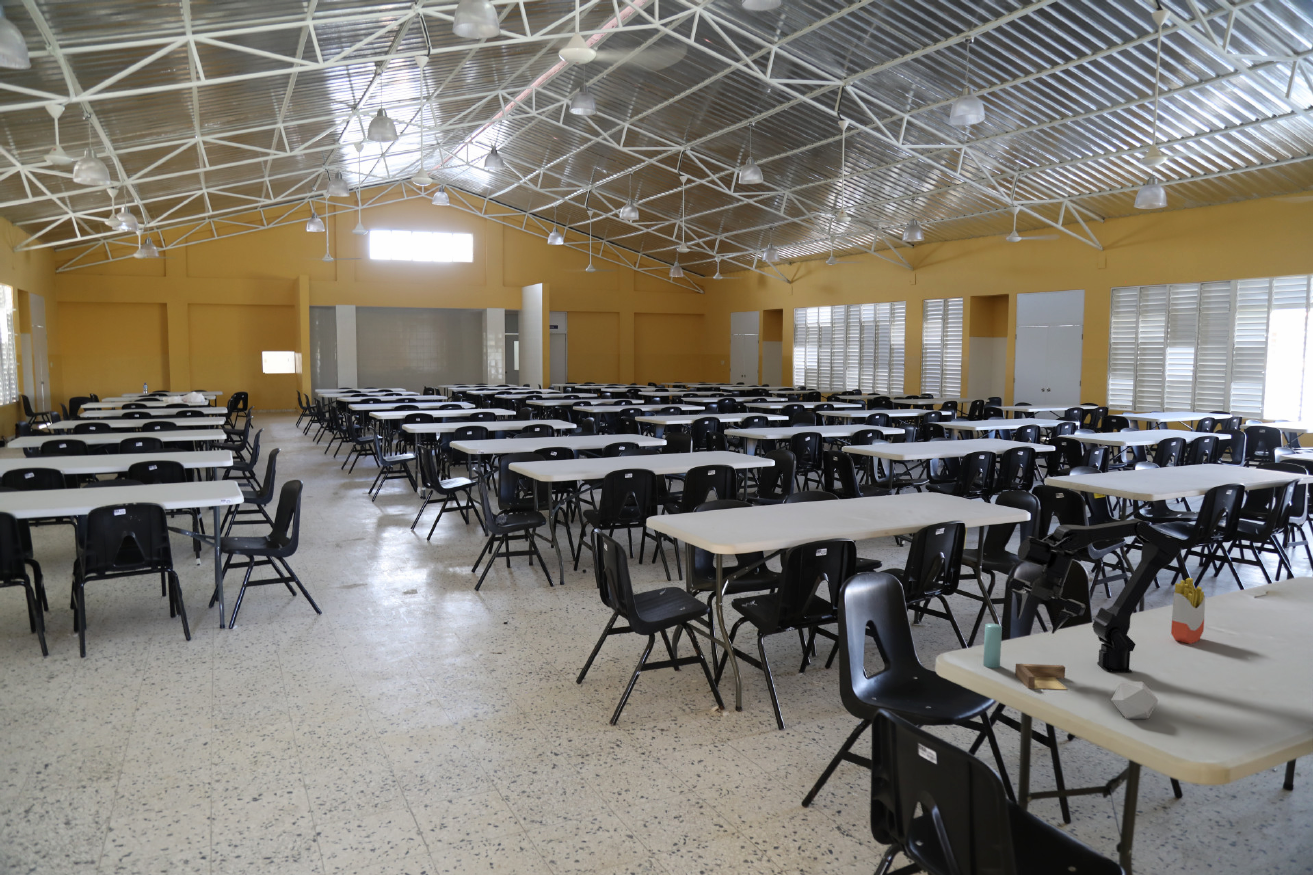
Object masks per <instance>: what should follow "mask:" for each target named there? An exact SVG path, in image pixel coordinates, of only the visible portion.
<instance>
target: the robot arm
mask: <svg viewBox="0 0 1313 875" xmlns="http://www.w3.org/2000/svg"><path fill="white" fill-rule="evenodd" d="M1130 537H1135V538H1137V540H1139V541H1140V542H1141V543H1142V544H1143V546H1142V548H1141V555H1140V556H1141V557H1140V562H1139V563H1138V565H1137V566H1136V568H1135V570H1134V571H1133V573H1132V574H1131V576H1130V577H1129V579H1128V581H1127V582H1126V584H1124V587H1123V588H1122V590H1121V592H1120V593H1119V594H1118V596H1117V598H1116V599H1115V601H1114V603H1113V604H1112V605H1111V606H1110V607H1108V608H1105V607H1100V608H1099V609H1098V612H1097V614H1096V615H1095V616H1094V617H1093V618H1092V620H1093V623H1092V629H1093V632H1094V634H1095V635H1096V636H1097V638H1098V640H1099V642H1101V644H1100V645H1101V646H1100V649H1099V650H1098V661H1097V665H1098V666H1100V667H1101V668H1102V669H1103V670H1105V671H1106V672H1109V673H1133V670H1132V669H1131V668H1130V664H1131V663H1130V661H1131V652H1134V650H1135V646H1136V643H1135V641H1133V640H1132V638H1130V636H1128V633H1129V630H1130V629H1131V617H1132V614H1133V613H1134V612H1135V610H1136V608H1137V607H1138V605H1139V604H1140V601H1142V599H1143V597H1144V595H1145V594H1146V592H1147V591H1148V590H1149V588H1150V586H1151V585H1152V583H1153V581H1154V579H1155V578H1156V576H1157V575H1158V574H1159V571H1161V570H1162V569H1164V568H1166V567H1167V566H1168V565H1171V564H1172V563H1173V562H1174V560H1175V559H1176V558H1177V557H1178V556H1179V555H1180V552H1181V550H1182V548H1181V545H1180V542H1179V541H1178V540H1177V539H1176V538H1174V537H1171V536H1168V535H1165V534H1163V533H1162V532H1161V531H1159V530H1157V529H1156V528H1154V527H1153V526H1151V524H1149V523H1147V522H1146V521H1144V520H1141V519H1139V518H1131V519H1127V520H1120V521H1114V522H1107V523H1101V524H1095V525H1078V524H1061V525H1058V526H1056V528H1055V529H1054V530H1053V532H1052V533H1050V534H1049V535H1047V536H1046V537H1044V538H1042V540H1041V539H1037V538H1035V537H1033V536H1030V535H1027V536H1026V539H1024V540H1023V541H1022V542H1021V544H1020V545H1019V546H1018V549H1017V558H1018V560H1019V561H1021V562H1022V561H1023V562H1026V563H1028V564H1032V565H1035V566H1038V567H1042V566H1044V567H1043V570H1042V571H1041V573H1040V575H1039V577H1038V578H1037V579H1036V580H1035V581H1033V583H1032V585H1031V582H1030V581H1027V580H1025V579H1021V578H1019V577H1012V578H1010V580H1009V582H1008V584H1007V587H1008V588H1009V589H1011V592H1012V593H1014V596H1015V598H1016V618H1017V619H1018V620H1019V619H1020V618H1021V616H1022V614H1023V611H1024V608H1025V605H1026V601H1027V598H1028V596H1029V594H1030V595H1031V596H1034V597H1039V598H1040V599H1042V600H1044V601H1049V602H1051V603H1054V604H1057V605H1058V606H1062V607H1064V608H1063V609H1061V610H1060V612H1059V616H1058V617H1057V619H1056V621H1055V624H1054V625H1053V627H1052V630H1051V634H1053V635H1054V634H1055V633H1056V632H1057V631H1058V630H1059V629H1060V628H1061V626H1062V625H1063V624H1064V623H1065V622H1066V621H1067V620H1068V619H1070V618H1071V617H1077V616H1084V613H1085V610H1086V605H1085V604H1084V603H1081V602H1080V601H1076V600H1074V599H1072V598H1067V599H1064V598H1062V595H1063V592H1064V591H1063V590H1064V585H1065V584H1064V583H1065V582H1066V578H1067V576H1068V573H1069V572H1070V567H1071V566H1072V562H1073V560H1074V561H1076V562H1080V563H1081V562H1082V558H1081V556H1080V555H1079V552H1078V550H1080V549H1084V548H1086V547H1089V546H1090V545H1092V544H1094V543H1097V542H1103V541H1111V540H1115V539H1116V540H1117V539H1122V538H1123V539H1124V538H1130ZM1068 550H1070V551H1068Z"/></svg>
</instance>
